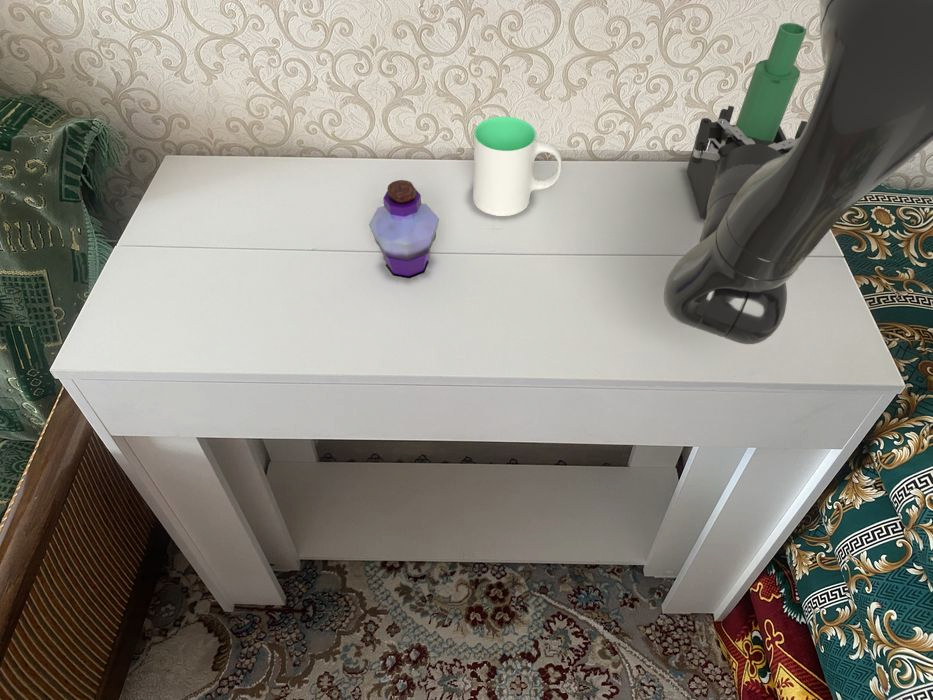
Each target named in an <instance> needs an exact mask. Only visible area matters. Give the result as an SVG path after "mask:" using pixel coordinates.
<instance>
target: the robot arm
mask: <svg viewBox="0 0 933 700" xmlns="http://www.w3.org/2000/svg"><path fill="white" fill-rule="evenodd" d="M818 9H819V10H818V11H819V12H818V13H819V35H820V48H821V58H822V61H823V63H824V72H823V76H822V79H821V83H820V86H819V89H818V92H817V95H816V98H815V101H814V103H813V107H812V109H811V112H810V114H809V117H808V119H807V121H806V120H801V121H800V123H799V126H798V128H797V130H796V133H795V136H794V138H793V137H789V138H786V139H787V140H784V141H782V142H779V143H777V144H776V142H772V141H766V140H760V139H757V138H754V137H749V136H748V137H747V136H746V135H745V134H744V133H743V132H742V131H741V130H740V129H739V128H738V127H733V126H732V125H733V124H731V120H732V118H733V117H732V116H733V113H734V109H735V106H732V105H728V106H727V108H722V109H721V110H720V112H719V115H718V118H717V120H716V121H712V120H711V119H710V118H709V117H708V118H707V117H704V118H703V117H702V118H701V119H700V122H699V127H698V131H697V133H696V136H695V140H694V144H693V147H694V149H693V148H692V151H693V153H692V152H691V154H692V158H691V161H692V162H693V163H696V164H699V163H701V162H702V159H703V158H704V159H709V160H714V161H715V162H716V164H717V166H718V169H717V172H716V176H715V179H714V182H713V186H712V189H711V193H710V194H709V197H708V205H707V216H706V219H704V223H703V227H702V230H701V234H700V237H699V242H698V243H697V244H696V245H694V247H691V249H689V251H687V252H686V253H685V254H684V255H682V257H681V258H680V259H679V260H678V261H677V263H676V264H675V265H674V266H673V268H672V270H671V271H670V273H669V275H668V277H667V279H666V281H665V284H664V289H663V295H662V296H663V303H664V306H665V309H666V311H667V312H668V314H669V316H670V317H671V318H672V319H673V320H674V321H677V322H678V323H680V324H682V325H686V326H688V327H691V328H694V329H697V330H700V331H703V332H705V333H708V334H712V335H715V336H716V337H720V338H723V339H725V340H729V341H731V342H735V343H737V344H742V345H756V344H759V343H760V344H761V343H762V342H764V341H766V340H768V339H769V338H770V337H772V336H773V335H774V334H775V332H776V331H777V330H778V328H779V327H780V326H781V324H782V321H783V319H784V317H785V313H786V309H787V302H788V289H787V287H788V286H787V282H788V280H790V279H791V278H792V277H793V275H794V274H795V273H796V272H797V271H798V270H799V268H800V267H801V266H802V264H803V263H804V262H805V260H806V259H807V258H808V257H809V256H810V254H811V253H812V252H813V251H814V249H815V248H816V247H817V246H818V245H819V243H821V241H822V240H823V239H824V237H825V236H826V235H827V233H828V232H829V231H830V230H831V229H832V228H833V226H835V225H836V223H837V222H838V221H839V220H840V219H841V218H842V217H843V216H844V215H845V214H846V213H847V212H848V211H850V210H851V209H852V208H853V207H854V206H855V205H856V204H857V203H859V202H860V201H861V200H862V199H863V198H864V197H866V196H867V195H868V194H870V193H872V191H874V190H875V189H876V188H877V187H879V186H880V185H881V184H882V183H884V182H885V181H886V180H887V179H889V178H890V177H891V176H892V175H893V174H894V173H896V172H897V171H898V170H900V169H901V168H902V167H903V166H905V165H906V164H907V163H908V162H909V161H910V160H911V159H913V158H914V157H915V156H916V155H917V154H919V153H920V152H921V151H922V150H923V149H925V148H926V147H928V145H929V144H931V143H932V142H933V0H818ZM708 138H709V139H708ZM711 138H712V139H711ZM712 140H713V142H714V143H715V144H716V145H717V146H718V147H719V150H718V149H716V148H714V146H713V144H712V143H711V142H712Z"/></svg>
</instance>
